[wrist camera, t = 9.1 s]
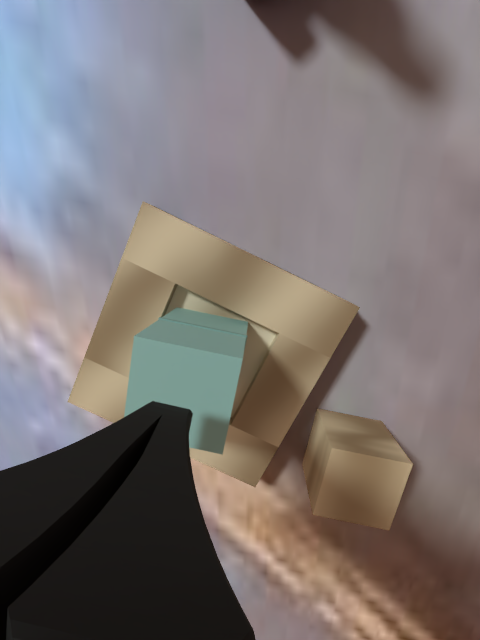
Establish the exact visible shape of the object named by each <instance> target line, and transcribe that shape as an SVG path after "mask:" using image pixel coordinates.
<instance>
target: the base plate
mask: <svg viewBox="0 0 480 640" xmlns="http://www.w3.org/2000/svg"><path fill="white" fill-rule="evenodd" d="M177 307H178V308H183V309H188V310H193V311H198V312H203V313H208V314H212V315H217V316H222V317H227V318H232V319H237V320H242V321H246V322H248V327H247V334H246V335H247V340H246V345H245V350H244V354H243V360H242V365H241V370H240V374H239V379H238V384H237V389H236V393H235V398H234V403H233V408H232V412H231V417H230V422H229V427H228V431H227V436H226V441H225V446H224V450H223V455H222V454H217V453H213V452H208V451H203V450H199V449H194V448H189V449H190V458H192V459H194V460H197V461H199V462H201V463H203V464H205V465H208V466H210V467H212V468H214V469H216V470H218V471H221V472H223V473H225V474H227V475H229V476H232V477H234V478H236V479H238V480H240V481H243V482H245V483H247V484H249V485H251V486H254V487H256V485H257V483H258V482H259V480H260V478H261V476H262V475H263V473H264V471H265V470H266V468H267V466H268V464H269V463H270V461H271V459H272V458H273V456H274V454H275V452H276V451H277V449H278V447H279V446H280V444H281V442H282V440H283V439H284V437H285V435H286V433H287V432H288V430H289V428H290V427H291V425H292V423H293V421H294V420H295V418H296V416H297V415H298V413H299V411H300V409H301V408H302V406H303V404H304V403H305V401H306V399H307V397H308V396H309V394H310V392H311V391H312V389H313V387H314V385H315V384H316V382H317V380H318V379H319V377H320V375H321V373H322V372H323V370H324V368H325V366H326V365H327V363H328V361H329V360H330V358H331V356H332V354H333V353H334V351H335V349H336V348H337V346H338V344H339V342H340V341H341V339H342V337H343V336H344V334H345V332H346V330H347V329H348V327H349V325H350V324H351V322H352V320H353V318H354V317H355V315H356V313H357V311H358V310H359V308H360V307H358V306H356V305H354V304H352V303H350V302H348V301H346V300H344V299H342V298H340V297H338V296H336V295H334V294H332V293H330V292H328V291H326V290H324V289H322V288H320V287H318V286H316V285H314V284H312V283H310V282H308V281H306V280H303V279H301V278H299V277H297V276H295V275H293V274H291V273H289V272H287V271H285V270H283V269H281V268H279V267H277V266H275V265H273V264H271V263H269V262H267V261H265V260H263V259H261V258H259V257H257V256H254V255H252V254H250V253H248V252H246V251H244V250H242V249H240V248H238V247H236V246H234V245H232V244H230V243H228V242H226V241H224V240H222V239H220V238H218V237H216V236H214V235H212V234H210V233H208V232H205V231H203V230H201V229H199V228H197V227H195V226H193V225H191V224H189V223H187V222H185V221H183V220H181V219H179V218H177V217H175V216H173V215H171V214H169V213H167V212H165V211H163V210H161V209H159V208H156V207H154V206H152V205H150V204H148V203H145V202H143V203H142V205H141V208H140V211H139V213H138V216H137V219H136V221H135V224H134V227H133V229H132V232H131V235H130V237H129V240H128V243H127V245H126V248H125V251H124V253H123V256H122V259H121V261H120V264H119V267H118V269H117V272H116V275H115V277H114V280H113V283H112V285H111V288H110V291H109V293H108V296H107V299H106V301H105V304H104V306H103V309H102V312H101V314H100V317H99V320H98V322H97V325H96V328H95V330H94V333H93V336H92V338H91V341H90V344H89V346H88V349H87V352H86V354H85V357H84V360H83V362H82V365H81V368H80V370H79V373H78V376H77V378H76V381H75V384H74V386H73V389H72V392H71V394H70V397H69V400H68V402H69V403H72V404H74V405H76V406H78V407H80V408H82V409H85V410H87V411H89V412H91V413H93V414H96V415H98V416H100V417H102V418H104V419H107V420H109V421H111V422H113V423H115V422H117V421H118V420H120V419H122V418H124V413H125V405H126V397H127V389H128V381H129V373H130V365H131V357H132V349H133V340H134V336H135V335H136V334H138V333H139V332H141V331H142V330H144V329H145V328H147V327H148V326H150V325H151V324H153V323H154V322H156V321H157V320H158V318H159V317H163V316H165V315H166V314H168V313H169V312H171V311H172V310H174V309H175V308H177Z"/></svg>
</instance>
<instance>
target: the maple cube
mask: <svg viewBox="0 0 480 640" xmlns="http://www.w3.org/2000/svg"><path fill="white" fill-rule="evenodd" d="M302 465H303V470H304V475H305V480H306V484H307V489H308V494H309V499H310V504H311V509H312V513H313V515H316V516H321V517H326V518H331V519H335V520H340V521H345V522H350V523H355V524H360V525H365V526H370V527H375V528H379V529H384V530H390V527H391V524H392V521H393V519H394V516H395V513H396V510H397V508H398V505H399V502H400V499H401V496H402V494H403V491H404V488H405V485H406V482H407V480H408V477H409V474H410V471H411V469H412V466H413V463H412V462H411V461H410V459H409V458H408V457H407V455H406V454H405V453H404V451H403V450H402V448H401V447H400V446H399V444H398V443H397V442H396V440H395V439H394V437H393V436H392V435H391V433H390V432H389V431H388V429H387V428H386V427H385V425H384V424H383V422H382V421H378V420H373V419H368V418H363V417H358V416H353V415H348V414H343V413H338V412H333V411H328V410H323V409H318V408H317V410H316V414H315V418H314V422H313V426H312V429H311V433H310V437H309V441H308V444H307V448H306V452H305V456H304V459H303V463H302Z"/></svg>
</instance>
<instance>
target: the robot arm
mask: <svg viewBox="0 0 480 640" xmlns="http://www.w3.org/2000/svg"><path fill="white" fill-rule="evenodd" d="M192 416H193V413H192V411H191V410H190V409H186V408H182V407H177V406H173V405H169V404H164V403H160V402H155V401H152V402H150V403H148V404H146V405H144V406H143V407H141V408H139V409H138V410H136V411H134V412H132V413H131V414H129V415H127V416H126V417H124V418H122V419H120V420H118V421H117V422H115V423H113V424H111V425H109V426H108V427H106V428H104V429H102V430H100V431H98V432H96V433H94V434H92V435H90V436H88V437H86V438H84V439H82V440H80V441H78V442H75V443H73V444H71V445H69V446H67V447H64V448H62V449H60V450H57V451H55V452H52V453H50V454H47V455H45V456H42V457H39V458H37V459H34V460H32V461H29V462H26V463H23V464H20V465H17V466H14V467H11V468H8V469H5V470H2V471H0V640H255V635H254V631H253V629H252V627H251V625H250V623H249V621H248V619H247V617H246V615H245V613H244V611H243V610H242V608H241V606H240V604H239V602H238V600H237V598H236V596H235V594H234V592H233V590H232V588H231V586H230V584H229V581H228V579H227V577H226V575H225V572H224V570H223V568H222V566H221V563H220V561H219V559H218V557H217V554H216V551H215V548H214V546H213V543H212V540H211V538H210V535H209V532H208V530H207V527H206V524H205V521H204V518H203V515H202V511H201V508H200V505H199V501H198V497H197V493H196V489H195V484H194V479H193V474H192V467H191V460H190V449H189V431H190V426H191V421H192Z"/></svg>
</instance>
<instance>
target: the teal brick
mask: <svg viewBox="0 0 480 640" xmlns="http://www.w3.org/2000/svg"><path fill="white" fill-rule="evenodd" d="M247 327H248V322H246V321H242V320H237V319H232V318H227V317H222V316H217V315H212V314H208V313H203V312H198V311H193V310H188V309H183V308H178V307H177V308H175V309H174V310H172V311H171V312H169V313H168V314H166V315H165V316H163V317H159V318H158V320H157V321H156V322H154V323H153V324H151V325H150V326H148V327H147V328H145V329H144V330H142V331H141V332H139V333H138V334H136V335H135V336H134V340H133V349H132V357H131V365H130V373H129V381H128V389H127V397H126V405H125V413H124V417H126V416H127V415H129V414H131V413H132V412H134V411H136V410H138V409H139V408H141V407H143V406H144V405H146V404H148V403H150V402H152V401H155V402H160V403H164V404H169V405H173V406H177V407H182V408H186V409H190V410H191V411H192V413H193V416H192V421H191V426H190V431H189V448H194V449H199V450H203V451H208V452H213V453H217V454H222V455H223V450H224V446H225V441H226V436H227V431H228V427H229V422H230V417H231V412H232V408H233V403H234V398H235V393H236V389H237V384H238V379H239V374H240V370H241V365H242V360H243V354H244V350H245V345H246V340H247V335H246V334H247Z"/></svg>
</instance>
